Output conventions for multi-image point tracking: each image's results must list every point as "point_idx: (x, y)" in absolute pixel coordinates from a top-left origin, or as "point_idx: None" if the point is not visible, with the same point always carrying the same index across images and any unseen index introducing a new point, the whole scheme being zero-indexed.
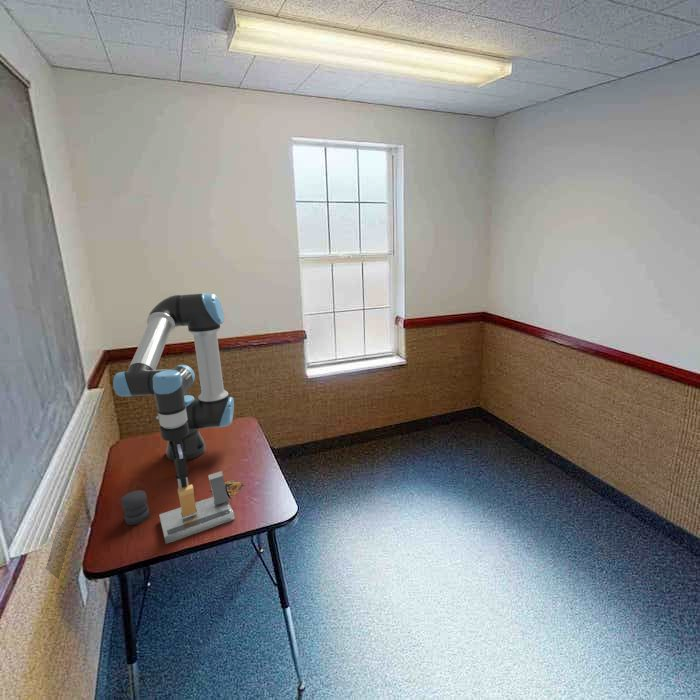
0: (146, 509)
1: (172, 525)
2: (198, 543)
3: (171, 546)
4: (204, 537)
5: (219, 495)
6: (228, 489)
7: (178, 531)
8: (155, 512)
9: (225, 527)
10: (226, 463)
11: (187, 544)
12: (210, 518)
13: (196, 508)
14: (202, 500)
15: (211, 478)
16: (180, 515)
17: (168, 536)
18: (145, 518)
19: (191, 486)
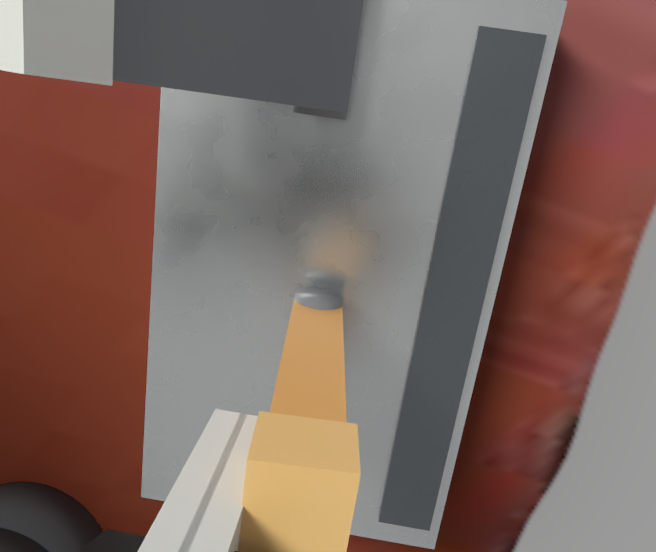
0: (30, 544)
1: None
2: (589, 357)
3: (475, 488)
4: (561, 302)
5: (308, 39)
6: None
7: (447, 466)
8: (41, 453)
9: (580, 129)
10: None
11: (538, 413)
12: (491, 227)
13: (248, 263)
14: (161, 178)
15: (101, 50)
16: (258, 392)
17: (439, 523)
18: (86, 527)
19: (304, 485)
